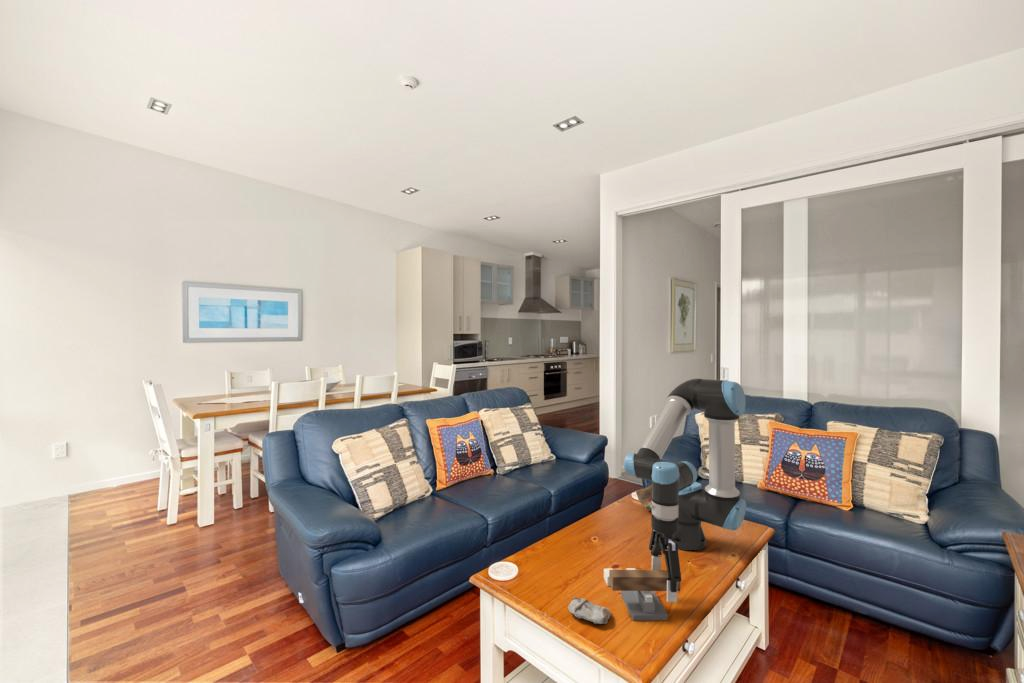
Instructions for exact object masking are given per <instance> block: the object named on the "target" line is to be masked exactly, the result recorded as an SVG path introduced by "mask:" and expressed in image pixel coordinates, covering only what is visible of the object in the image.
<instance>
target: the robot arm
mask: <svg viewBox="0 0 1024 683" xmlns="http://www.w3.org/2000/svg"><path fill="white" fill-rule="evenodd" d="M664 403H665V407H664V408H663V410H662V412H660V415H659V416H658V418H657V419H656V421H655V423H654V425H653V426H652V428H651V430H650V431H649V433H648V434H647V436H646V438H645V439H644V441H643V443H642V445H641V446H640V448H639V450H638V451H637V453H636V452H629V453H628V454H626V455H625V458H624V461H623V470H624V471H625V473H626V474H627V475H628V476H631V477H634V478H636V479H641V480H644V481H649V482H651V485H652V505H650V507H651V508H652V511H651V515H650V516H651V518H650V520H651V521H650V523H651V524H650V525H651V533H650V540H649V546H648V550H649V551H650V554H651V570H662V556H663V555H664V560H665V562H664V563H665V566H666V570H667V572H668V577H669V578H666V580H667V591H666V602H667V603H677V602H678V591H677V582H680V583H682V573H681V572H682V571H681V566H680V559H679V550H682V551H687V550H690V551H689V552H692V551H691V550H699V551H701V550H700V549H702V550H704V549H705V548H706V547H707V540H706V539H707V538H706V535H705V532H704V529H703V527H702V522H703V523H706V524H710V525H712V526H714V527H715V526H716V527H719V528H722V529H724V530H730V531H737V530H738V529H740V527H741V526H742V523H743V521H744V519H745V516H746V509H747V503H746V499H743V498H741V497H740V496H741V494H740V493H741V492H740V490H739V489H738V488H737V487H736V449H735V448H736V445H735V444H736V441H735V440H736V436H735V433H736V432H735V430H736V428H735V427H736V426H735V424H736V422H738V420H740V416H743V415H744V414H745V411H746V406H747V402H746V395H745V391H744V389H743V386H742V385H741V384H740V383H738V382H736V381H732V380H731V381H730V380H724V379H723V380H722V379H708V378H706V379H705V378H704V379H703V378H691V379H688V380H686V381H684V382H681V383H680V384H679V385H677V386H676V387H674V389H673V390H672V391H671V392H669V394H668V395H667V397H666V398H665V402H664ZM694 410H698V411H703V417H704V418H705V419H706V420H707V421H708V469H709V470H708V481H709V482H708V484H707V485H706V486H705V487H704V489H703V485H702V483H700V482H697V479H698V472H697V468H696V467H695V466H694V464H692V463H691V462H690V461H689V462H688V461H687V460H685V461H678V462H673V461H669V460H664V459H662V458H663V456H664V455H665V453H666V451H667V449H668V447H669V445H670V444H671V442H672V440H673V438H674V437H675V435H676V434H677V431H678V430H679V428H680V426H681V424H682V423H683V420H684V418H685V417H686V416H689V415H690V414H691V412H692V411H694ZM705 546H706V547H705ZM704 547H705V548H704ZM703 548H704V549H703Z"/></svg>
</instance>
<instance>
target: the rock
mask: <svg viewBox="0 0 1024 683" xmlns="http://www.w3.org/2000/svg"><path fill="white" fill-rule="evenodd" d="M635 493H636V496H637V500H638V501H639V503H641V505H642V506H644V508H645V509H646V510H647V511H651V512H652V508H651V507H650V505H652V484H651V485H648V486H646V487H645V488H641V489H638V490H635Z"/></svg>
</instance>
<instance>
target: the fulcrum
mask: <svg viewBox="0 0 1024 683" xmlns="http://www.w3.org/2000/svg"><path fill="white" fill-rule="evenodd" d="M620 595H621V598H622V601H623V603H624V605H625V606H626V609H627V611H628V613H629V615H630V617H631V619H632V621H669V614H668V612H667V611H666V609H665V607H664V605H663V604H662V603H661V601H660V599H659V598H658V596H657V594H656V593H655V591H620Z"/></svg>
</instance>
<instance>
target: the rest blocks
mask: <svg viewBox="0 0 1024 683" xmlns="http://www.w3.org/2000/svg"><path fill="white" fill-rule="evenodd" d="M609 570H614V569H613V568H612V567H611V568H603V579H604V582H605V585H606V586H607V587H611V586H610V584H609ZM625 570H637V569H636V568H635V567H634V568H633V567H632V568H631V567H629V568H628V567H627V568H625Z"/></svg>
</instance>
